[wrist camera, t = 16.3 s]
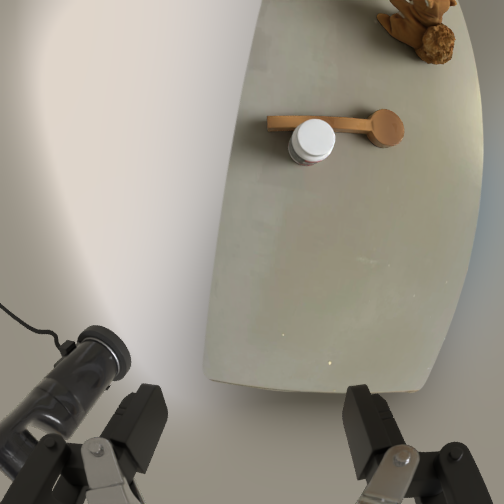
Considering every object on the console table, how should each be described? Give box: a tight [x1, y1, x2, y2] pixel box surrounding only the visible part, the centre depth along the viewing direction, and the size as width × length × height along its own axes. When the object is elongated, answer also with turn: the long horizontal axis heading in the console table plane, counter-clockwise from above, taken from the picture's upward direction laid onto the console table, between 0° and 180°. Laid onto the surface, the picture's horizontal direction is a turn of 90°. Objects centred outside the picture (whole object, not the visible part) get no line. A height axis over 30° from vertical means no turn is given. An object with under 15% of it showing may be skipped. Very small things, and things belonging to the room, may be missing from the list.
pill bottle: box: [288, 119, 335, 166], centre depth 30 cm, size 5×5×8 cm
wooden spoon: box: [267, 109, 404, 148], centre depth 31 cm, size 19×5×2 cm, turn 92°
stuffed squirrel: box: [377, 0, 457, 64], centre depth 21 cm, size 10×14×13 cm
